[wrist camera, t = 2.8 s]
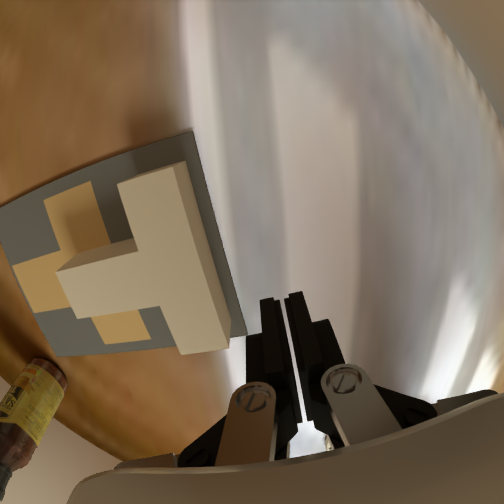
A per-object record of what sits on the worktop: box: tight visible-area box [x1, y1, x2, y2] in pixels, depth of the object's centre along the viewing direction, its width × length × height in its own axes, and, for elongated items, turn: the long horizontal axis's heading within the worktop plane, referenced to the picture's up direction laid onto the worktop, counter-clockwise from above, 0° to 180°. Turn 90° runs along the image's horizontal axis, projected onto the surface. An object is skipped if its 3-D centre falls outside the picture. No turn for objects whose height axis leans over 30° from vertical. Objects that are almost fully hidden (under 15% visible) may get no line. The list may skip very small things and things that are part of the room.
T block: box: [55, 161, 231, 355], centre depth 23 cm, size 12×14×4 cm
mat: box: [0, 131, 248, 357], centre depth 25 cm, size 23×18×1 cm
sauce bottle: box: [0, 358, 67, 501], centre depth 22 cm, size 7×6×20 cm
